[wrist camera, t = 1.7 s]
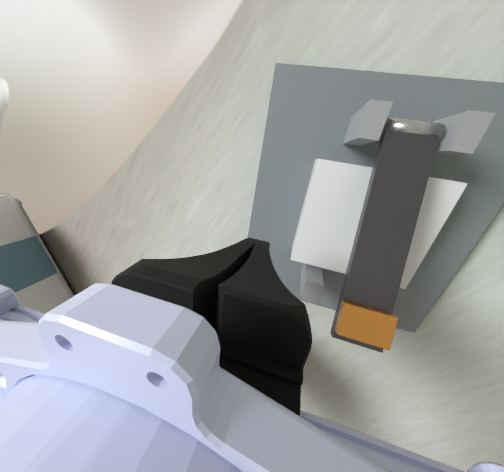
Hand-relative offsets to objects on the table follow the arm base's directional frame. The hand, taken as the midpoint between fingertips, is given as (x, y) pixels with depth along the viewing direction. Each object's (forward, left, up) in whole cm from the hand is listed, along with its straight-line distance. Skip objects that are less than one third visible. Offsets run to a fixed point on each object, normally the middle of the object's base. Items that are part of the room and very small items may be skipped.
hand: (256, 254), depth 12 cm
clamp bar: (+2, -7, -3) cm, 8 cm away
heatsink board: (+1, -7, -10) cm, 13 cm away
